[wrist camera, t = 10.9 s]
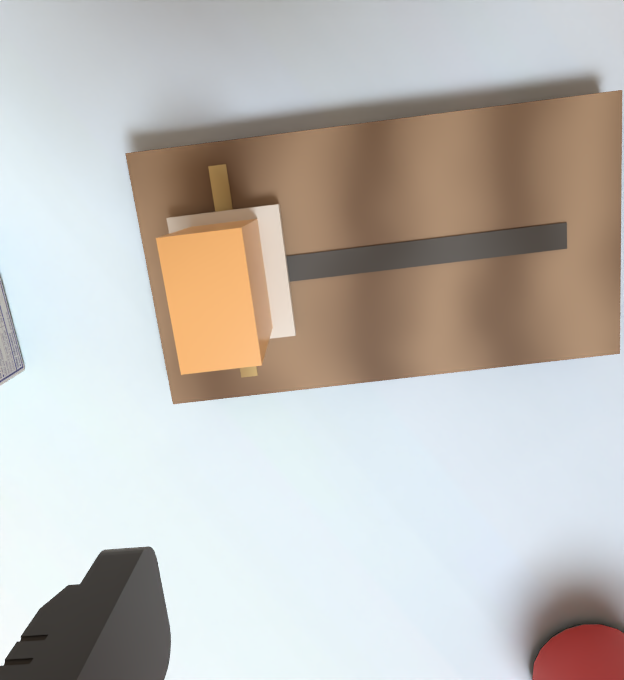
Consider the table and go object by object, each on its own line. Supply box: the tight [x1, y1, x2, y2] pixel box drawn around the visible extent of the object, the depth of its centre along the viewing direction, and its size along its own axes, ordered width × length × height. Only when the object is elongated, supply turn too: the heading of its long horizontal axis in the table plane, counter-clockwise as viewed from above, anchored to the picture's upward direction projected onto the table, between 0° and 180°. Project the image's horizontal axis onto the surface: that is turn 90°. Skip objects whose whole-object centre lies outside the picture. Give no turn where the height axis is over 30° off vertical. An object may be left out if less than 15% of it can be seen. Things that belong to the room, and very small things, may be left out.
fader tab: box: [156, 204, 296, 375], centre depth 24 cm, size 5×6×7 cm
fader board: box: [125, 90, 622, 404], centre depth 29 cm, size 22×12×2 cm, turn 97°
